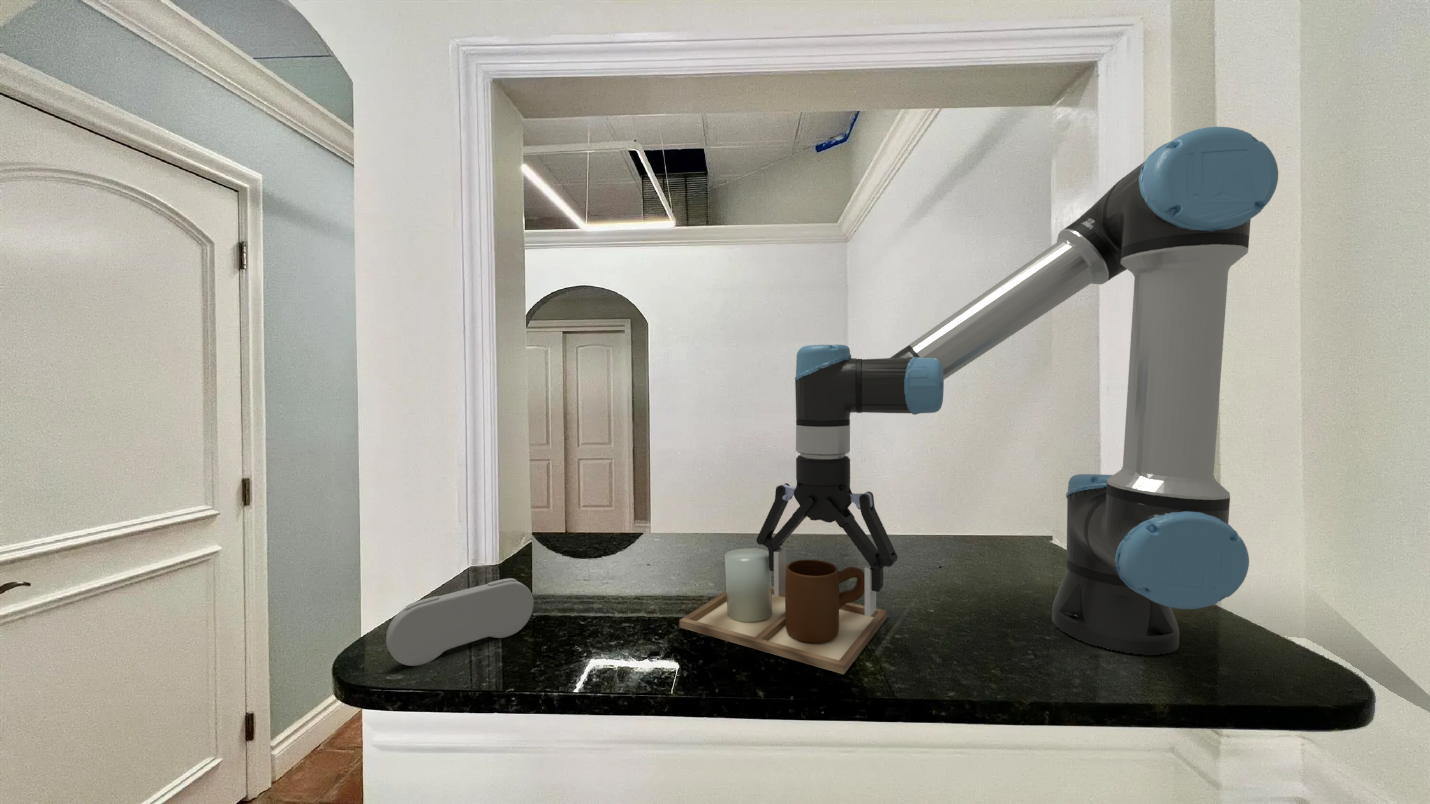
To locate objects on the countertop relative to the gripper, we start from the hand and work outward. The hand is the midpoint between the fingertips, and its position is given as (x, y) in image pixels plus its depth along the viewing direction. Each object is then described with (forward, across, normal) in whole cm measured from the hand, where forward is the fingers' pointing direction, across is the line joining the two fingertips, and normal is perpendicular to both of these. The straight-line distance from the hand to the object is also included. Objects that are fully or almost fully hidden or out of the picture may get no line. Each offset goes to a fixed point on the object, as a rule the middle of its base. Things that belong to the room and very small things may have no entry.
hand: (823, 602), depth 80 cm
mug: (+4, 0, 0) cm, 4 cm away
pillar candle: (+4, +12, 0) cm, 13 cm away
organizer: (+5, +6, 0) cm, 8 cm away
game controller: (+6, +42, +28) cm, 51 cm away
